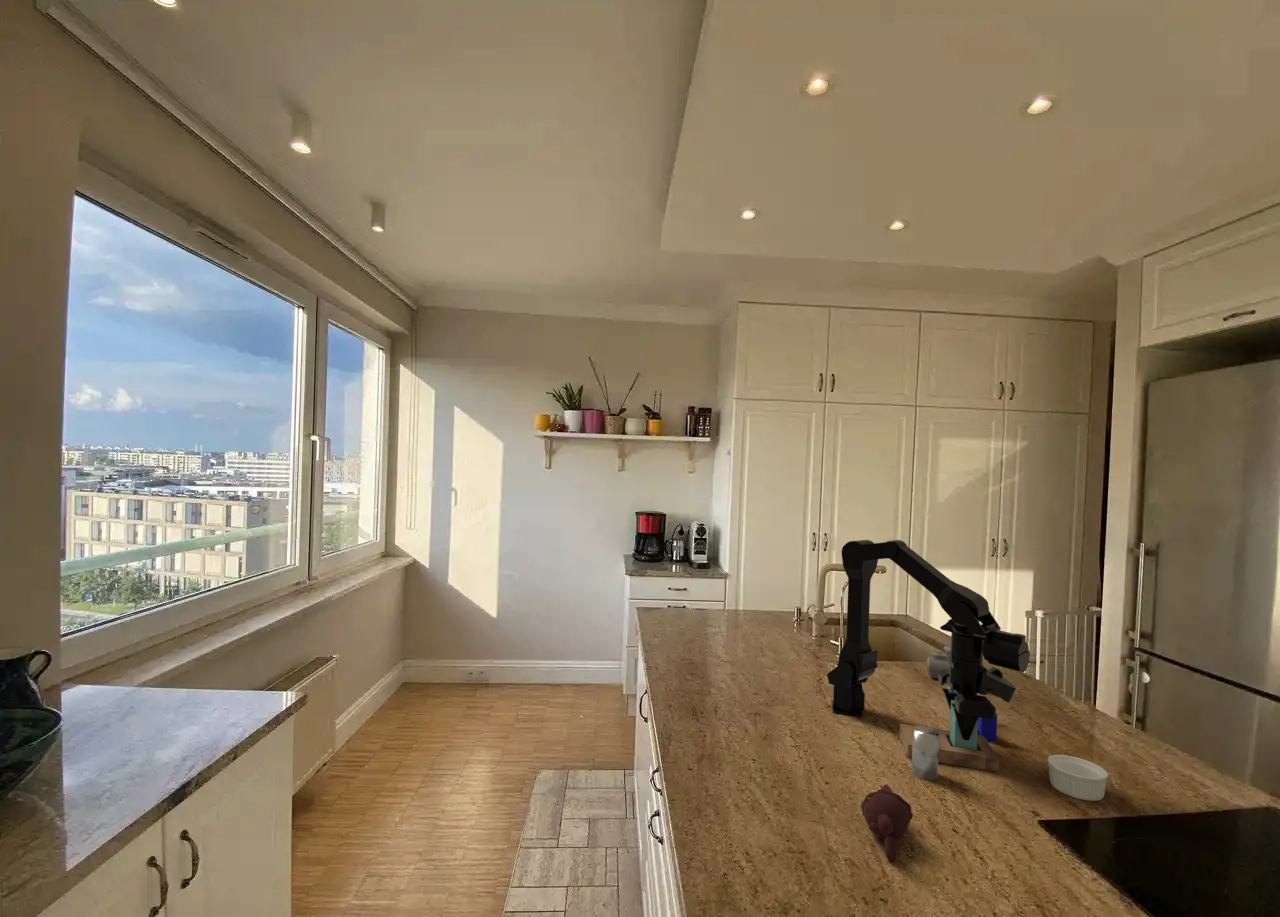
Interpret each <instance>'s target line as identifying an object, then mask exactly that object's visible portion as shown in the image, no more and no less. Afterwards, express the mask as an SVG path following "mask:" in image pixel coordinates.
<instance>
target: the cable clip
mask: <svg viewBox="0 0 1280 917" xmlns="http://www.w3.org/2000/svg"><path fill="white" fill-rule="evenodd" d="M997 726H998V713H996V719H988V718H981V717H979V718H978V734H977V735H982V736H984V737H985V739H986V740H987V742H991V741H992V742H993V743H994V742H995V743H996V742H997V733H998V732H997V730H998V729H997Z"/></svg>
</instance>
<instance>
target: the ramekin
mask: <svg viewBox="0 0 1280 917" xmlns="http://www.w3.org/2000/svg"><path fill="white" fill-rule="evenodd" d="M1046 759H1047V760H1046V762H1047V765H1048V773H1049V782H1050V785H1051V786H1052V787H1053V788H1055V790H1057V791H1059V792H1060V793H1062V794H1064V795H1066V796H1069V797H1072V798H1074V799H1076V800H1077V799H1078V800H1082V801H1090V802H1096V801H1100V800H1102V799H1104V796H1105V794H1106V793H1105V792H1106V785H1107V781H1108V778H1109V775H1108V772H1107V771H1106V770H1105V769H1104V768H1103V767H1101V766H1100V765H1098V764H1096V763H1093V762H1091V761H1090V760H1089V761H1088V760H1086V759H1082V758H1079V757H1076V756H1071V755H1067V754H1053V755H1050V756H1048V757H1047V758H1046Z"/></svg>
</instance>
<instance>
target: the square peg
mask: <svg viewBox="0 0 1280 917" xmlns="http://www.w3.org/2000/svg"><path fill="white" fill-rule="evenodd" d="M951 703H954V704H955V700H951ZM949 731H950V737H949V739H950V741H951V743H952V745H953V747H959V748H965V749H972V750H977V734H978V720H977V722H976V724H975V726H974V729H973V732H972V734H971V737H970V739H969V740H964V739H963V738H962V735H961V732H960V729H959V726H958V723H957V720H956V717H955V714H954V711H953V708H952V704H951V711H950V720H949Z"/></svg>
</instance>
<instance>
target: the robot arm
mask: <svg viewBox="0 0 1280 917" xmlns="http://www.w3.org/2000/svg"><path fill="white" fill-rule="evenodd" d="M885 559H889V560H891V561H892V562H893V563H894V564H896V565H897V566H898V567H899V568H901V570H903V571H904V572H906V573H907V574H908V575H909V576H910V577H911V578H912V579H914V580H915V581H916V582H918V583H919V585H921V586H922V587H924V588H925V589H926V590H927V591H928V592H930V594H932V596H934V597H935V599H936V600H937V602H938V604H939V605H940V607H941V609H943V611H944V612H945V613H946V614H947V615H948V616H949V617H950V619H949V620H947V621H946V623H945V624H942V625H941V626H940V627H939V628H940V630H941V631H945V632H949V633H951V635H950V644H951V653H950V657H948V663H949V664H950V670H948V669H943V670H941V671H940V672H939V673H938V679H937V681H938V683H939V685H941V686H945V684H946V688H942V692H943V694H944V697H945V700H946V702H947V705H948V708H949V712H951V704H952V708H953V711H954V714H955V717H956V720H957V723H958V726H959V729H960V732H961V735H962V738H963V739H964V740H969V739H970V737H971V734H972V732H973V729H974V726H975V724H976V722H977V720H978V718H979V717H981V718H988V719H996V714H997V708H996V706H994V704H993V703H992V701H990V700H989V698H988V697H987V695H988V693H989V694H991V695H993V696H996V697H998V698H1000V699H1002V701H1004V702H1006V703H1010V702H1011V700H1012V698H1013V696H1014V693H1015V692H1016V689H1017V687H1016V686H1015V685H1014V684H1013V683H1012V682H1011V681H1009V680H1008V679H1007V678H1004V675H1003V671H1001V670H1000V669H999V668H1000V667H1001V668H1005V669H1007V670H1011V671H1016V672H1019V673H1025V672H1026V670H1027V669H1028V667H1029V663H1030V656H1031V651H1030V650H1029V645H1028V643H1027V639H1026V638H1027V636H1026V635H1025V634H1021V633H1013V632H1007V631H1004V630H1001V626H1000V625H999V623H998V622H997V620H996V618H995V617H994V616H993V615H992V613H991V612H990V606H989V602H988V601H987V599H986V598H985V597H984V596H983V595H981V594H979V593H977V591H974V590H972V589H971V588H969V587H967V586H965V585H962V584H959V583H957V582H955V581H953V580H951V579H950V578H949V577H947V576H946V575H945V574H943V573H942V572H941V571H940V570H938V569H937V568H936V567H934V566H933V564H931V563H930V562H928V561H927V560H925V559H924V558H923V557H922V556H921V555H919V553H917V552H915V551H914V550H913V549H912V548H910V546H908V544H907V543H906V542H905V541H903V540H901V539H892V540H886V541H885V542H876V543H875V542H873V541H872V540H869V539H863V540H862V539H859V540H850V541H847V542H846V543H845V544H844V545H843V546H842V548H841V560H842V567H843V569H844V572H845V574H846V576H847V580H848V581H847V583H848V584H847V604H846V606H847V607H846V611H847V612H846V634H845V636H846V637H845V641H844V643H843V645H842V647H841V650H840V652H839V656H838V660H837V666H836V667H834V668H833V669H832V670H831V671H829V672H828V673H827V674H826V677H827V681H828V683H829V684H830V685H832V699H831V710H832V712H833V713H836V714H842V715H843V714H844V715H850V716H857V717H863V716H864V715H863V712H865V699H866V698H865V697H866V693H865V690H864V688H863V683H864V684H865V683H867V681H868V679H869V677H872V676H873V675H874V674H875V671H876V669H877V668H878V667H879V665H878V663H877V662H878V661H877V659H878V650H877V649H872V647H871V644H870V642H869V628H870V606H871V605H870V604H871V603H870V602H871V601H870V600H871V580H872V578H873V575H874V573H875V571H876V569H877V567H878V562H879V560H885ZM983 660H985V661H987V663H988V664H990V665H994V666H997V667H999V668H996V667H994V666H992V667H990V668H989V669H987V668H986V667H985V665H984V662H983ZM978 694H979V695H978ZM951 700H955V704H954V703H951Z"/></svg>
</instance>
